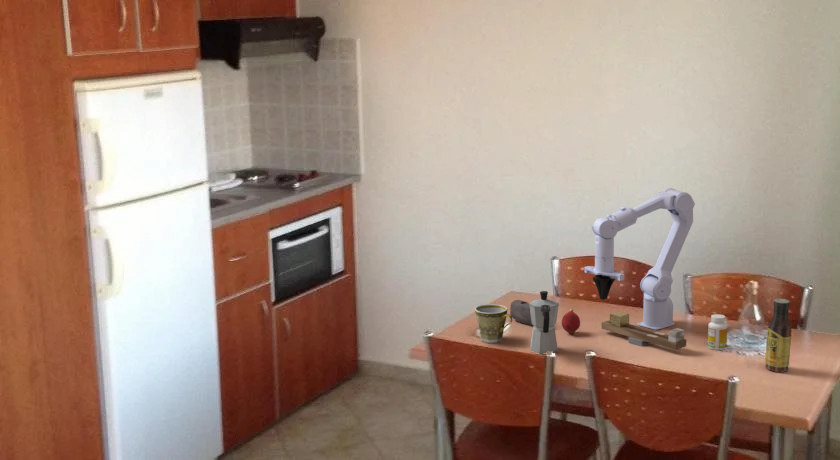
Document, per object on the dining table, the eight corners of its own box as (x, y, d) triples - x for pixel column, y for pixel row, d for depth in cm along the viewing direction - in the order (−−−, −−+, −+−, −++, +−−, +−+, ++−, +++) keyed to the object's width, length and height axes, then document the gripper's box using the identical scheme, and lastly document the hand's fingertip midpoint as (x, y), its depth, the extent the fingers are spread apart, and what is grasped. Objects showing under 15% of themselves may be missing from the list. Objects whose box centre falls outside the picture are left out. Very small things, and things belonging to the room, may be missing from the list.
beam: (614, 329, 301) (614, 309, 300) (688, 350, 280) (688, 329, 278) (599, 333, 297) (599, 313, 296) (673, 355, 275) (674, 334, 274)
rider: (618, 326, 298) (619, 311, 297) (629, 329, 295) (629, 313, 294) (609, 329, 295) (609, 313, 294) (619, 332, 292) (620, 316, 291)
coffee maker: (527, 343, 290) (527, 286, 286) (556, 342, 289) (556, 285, 286) (531, 359, 275) (531, 299, 271) (561, 359, 275) (562, 299, 271)
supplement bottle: (726, 345, 283) (728, 314, 281) (726, 351, 278) (727, 319, 276) (707, 344, 285) (709, 312, 283) (707, 349, 280) (708, 317, 278)
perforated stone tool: (552, 328, 304) (552, 307, 303) (540, 331, 301) (540, 310, 300) (520, 317, 316) (520, 297, 315) (508, 320, 313) (508, 300, 312)
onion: (579, 337, 294) (580, 312, 293) (561, 336, 295) (561, 311, 294) (580, 331, 300) (580, 307, 298) (562, 330, 301) (562, 306, 299)
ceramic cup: (468, 340, 294) (468, 309, 292) (489, 332, 301) (488, 302, 299) (501, 348, 285) (501, 316, 283) (521, 340, 292) (521, 309, 290)
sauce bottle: (760, 366, 265) (764, 297, 261) (782, 364, 266) (786, 296, 262) (771, 374, 259) (775, 303, 255) (793, 373, 259) (797, 302, 255)
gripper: (578, 254, 299) (577, 296, 301) (613, 262, 287) (613, 305, 290) (593, 251, 303) (592, 292, 306) (629, 258, 292) (628, 301, 294)
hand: (603, 298), depth 298 cm, fingers closed
